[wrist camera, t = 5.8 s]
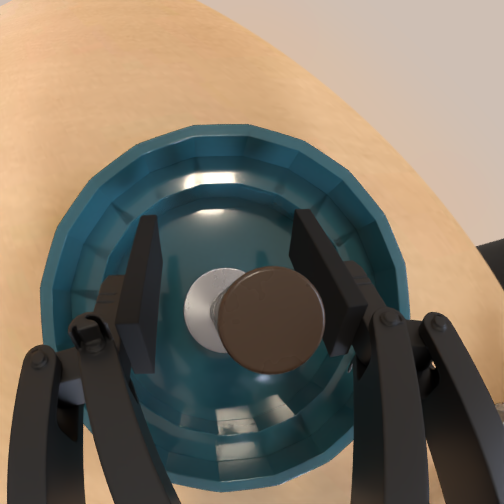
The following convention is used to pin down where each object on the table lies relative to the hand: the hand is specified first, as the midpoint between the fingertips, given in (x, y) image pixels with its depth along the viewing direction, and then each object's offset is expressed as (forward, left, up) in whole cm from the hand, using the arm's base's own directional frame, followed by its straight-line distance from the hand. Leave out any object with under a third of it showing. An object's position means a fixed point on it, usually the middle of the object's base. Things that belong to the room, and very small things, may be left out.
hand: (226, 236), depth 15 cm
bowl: (-3, +2, -5) cm, 7 cm away
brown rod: (-3, +2, -5) cm, 6 cm away
